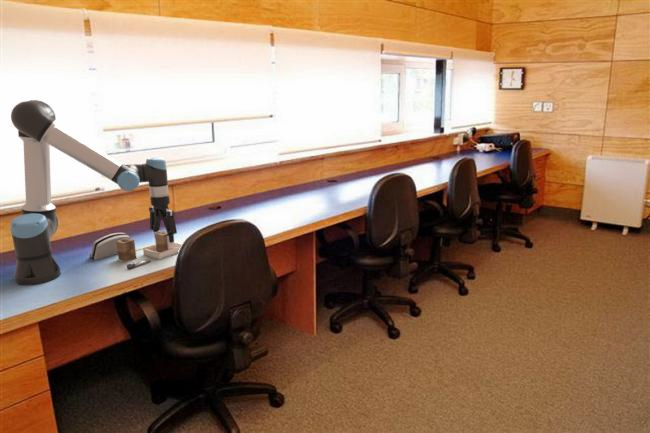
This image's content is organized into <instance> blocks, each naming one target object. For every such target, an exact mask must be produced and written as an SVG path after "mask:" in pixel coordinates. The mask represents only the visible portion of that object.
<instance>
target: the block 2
mask: <svg viewBox="0 0 650 433" xmlns="http://www.w3.org/2000/svg"><path fill="white" fill-rule="evenodd" d="M167 234H168V233H167V231H166V230H163V231H161V232H159V233H156V234H155V235H154V240H155V239H156V242H155V244H156V248H157V252H163V251H166V250H168V245H167Z"/></svg>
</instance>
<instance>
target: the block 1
mask: <svg viewBox="0 0 650 433" xmlns="http://www.w3.org/2000/svg"><path fill="white" fill-rule="evenodd" d="M116 244H117V251H118V253H117V257H118V260H119V261H122V262H124V263H126V262H129V261H133V260H136V259H137V251H135V250H136V244H135V239H132V238H130V239H129V238H125V239H122V240H118V241H116Z"/></svg>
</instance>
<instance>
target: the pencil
mask: <svg viewBox="0 0 650 433" xmlns="http://www.w3.org/2000/svg"><path fill="white" fill-rule="evenodd" d="M154 245H156V243H155V244H151V245H148V246H145V247H141V248H138V249H137V248H136V249H135V251H136V252H137V251H143V249H144V248H148V247H151V246H154Z"/></svg>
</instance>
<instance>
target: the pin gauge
mask: <svg viewBox="0 0 650 433" xmlns="http://www.w3.org/2000/svg"><path fill="white" fill-rule="evenodd" d="M149 263H151V259H145V260H141V261H138V262H137V263H134V262H129V263H127V264H126V268H127V269H128V270H130V269H134V268H135V267H136V268H137V267H140V266H142V265H146V264H149Z"/></svg>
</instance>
